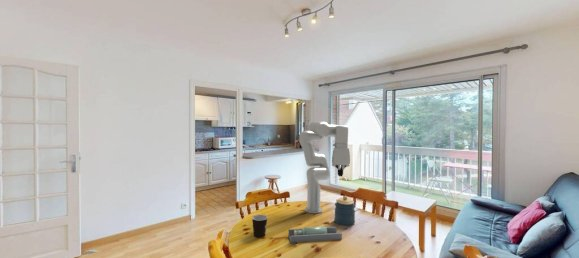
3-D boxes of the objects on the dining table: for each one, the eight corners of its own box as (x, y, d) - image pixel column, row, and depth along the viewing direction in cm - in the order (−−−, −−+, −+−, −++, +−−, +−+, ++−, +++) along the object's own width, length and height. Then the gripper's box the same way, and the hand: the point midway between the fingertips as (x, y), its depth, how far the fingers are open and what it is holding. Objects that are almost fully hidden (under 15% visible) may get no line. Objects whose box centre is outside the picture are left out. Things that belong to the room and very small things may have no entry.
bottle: (324, 234, 135) (293, 236, 131) (324, 224, 135) (293, 226, 132) (327, 238, 130) (295, 240, 126) (327, 228, 130) (295, 230, 127)
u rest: (288, 236, 133) (288, 229, 133) (335, 233, 138) (336, 226, 138) (291, 244, 124) (291, 236, 124) (341, 240, 129) (341, 233, 129)
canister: (359, 224, 151) (360, 197, 151) (344, 229, 144) (344, 200, 144) (344, 217, 162) (345, 192, 162) (330, 221, 155) (330, 194, 155)
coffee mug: (260, 240, 128) (261, 221, 128) (248, 236, 132) (248, 218, 132) (273, 232, 138) (273, 215, 138) (261, 228, 142) (261, 212, 142)
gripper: (331, 146, 139) (330, 177, 139) (355, 146, 141) (354, 177, 141) (327, 145, 146) (326, 174, 147) (350, 145, 148) (349, 174, 149)
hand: (340, 175), depth 144 cm, fingers closed
